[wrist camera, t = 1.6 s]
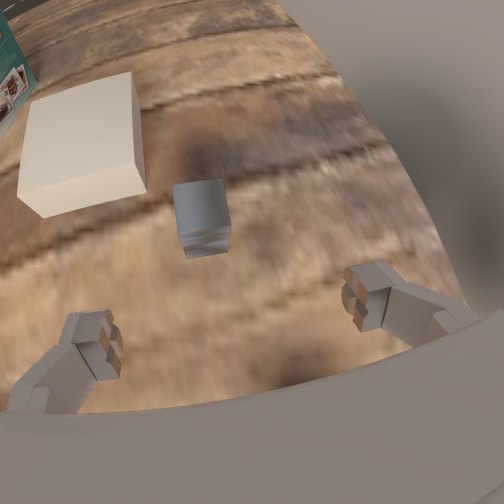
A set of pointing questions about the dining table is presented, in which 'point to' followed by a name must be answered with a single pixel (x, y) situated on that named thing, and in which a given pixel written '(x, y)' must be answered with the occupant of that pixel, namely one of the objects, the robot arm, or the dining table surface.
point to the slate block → (202, 217)
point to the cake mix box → (12, 77)
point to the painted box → (83, 147)
